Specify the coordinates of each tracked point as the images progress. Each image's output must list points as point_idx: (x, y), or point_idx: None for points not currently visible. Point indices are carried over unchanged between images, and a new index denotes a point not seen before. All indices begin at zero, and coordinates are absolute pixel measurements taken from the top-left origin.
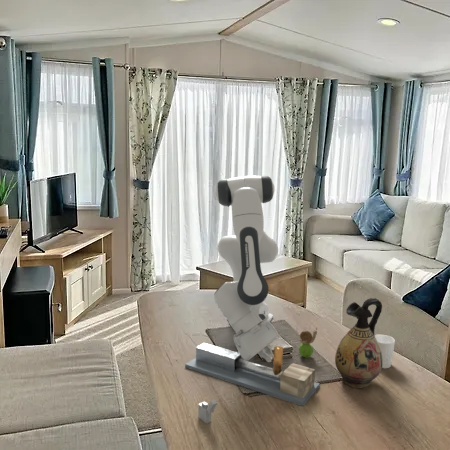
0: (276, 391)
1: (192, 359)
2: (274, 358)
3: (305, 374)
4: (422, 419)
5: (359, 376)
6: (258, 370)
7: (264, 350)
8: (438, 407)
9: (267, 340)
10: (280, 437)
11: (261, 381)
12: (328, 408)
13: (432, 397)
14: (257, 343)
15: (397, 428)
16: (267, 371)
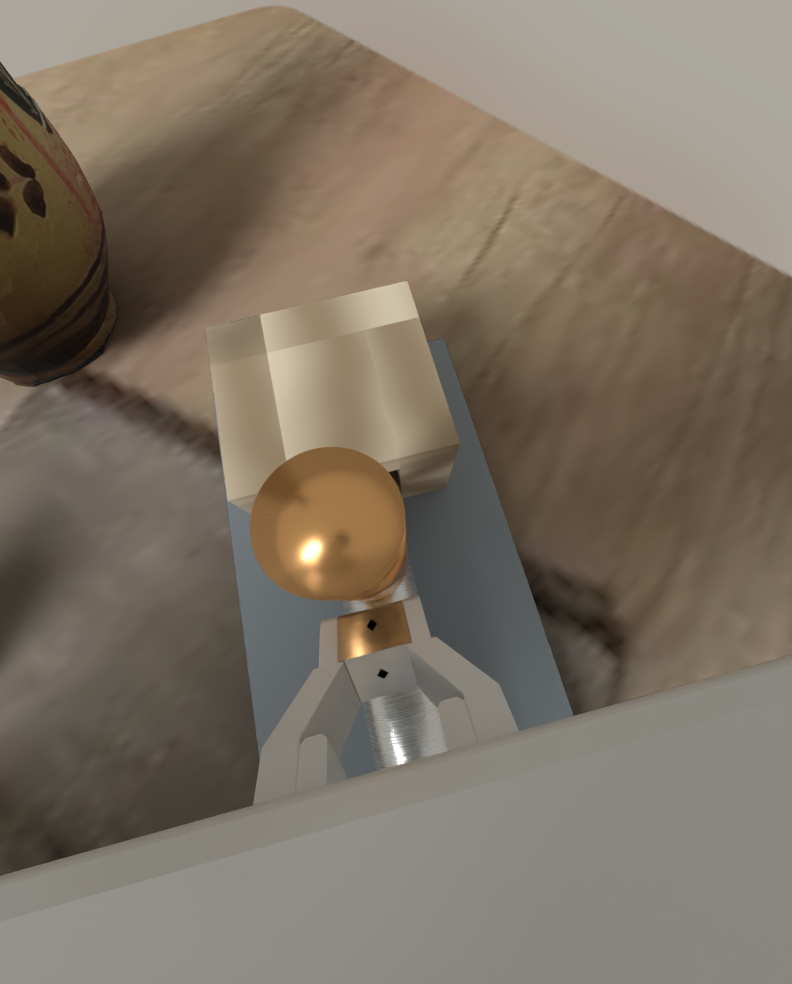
0: (470, 494)
1: None
2: (405, 555)
3: (319, 326)
4: (186, 73)
5: (85, 178)
6: None
7: (465, 717)
8: (73, 74)
9: (248, 897)
10: (702, 275)
11: (454, 649)
12: (365, 276)
13: None
14: (698, 907)
15: (297, 90)
16: None
